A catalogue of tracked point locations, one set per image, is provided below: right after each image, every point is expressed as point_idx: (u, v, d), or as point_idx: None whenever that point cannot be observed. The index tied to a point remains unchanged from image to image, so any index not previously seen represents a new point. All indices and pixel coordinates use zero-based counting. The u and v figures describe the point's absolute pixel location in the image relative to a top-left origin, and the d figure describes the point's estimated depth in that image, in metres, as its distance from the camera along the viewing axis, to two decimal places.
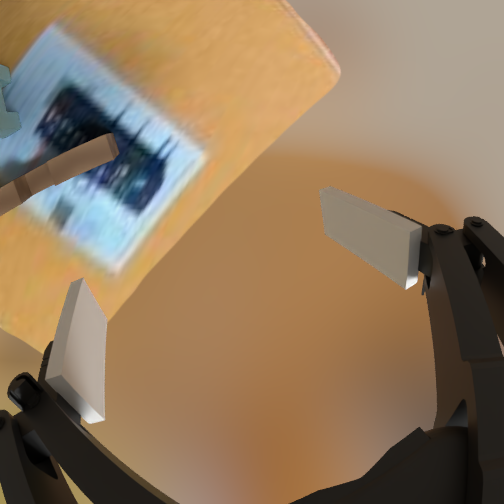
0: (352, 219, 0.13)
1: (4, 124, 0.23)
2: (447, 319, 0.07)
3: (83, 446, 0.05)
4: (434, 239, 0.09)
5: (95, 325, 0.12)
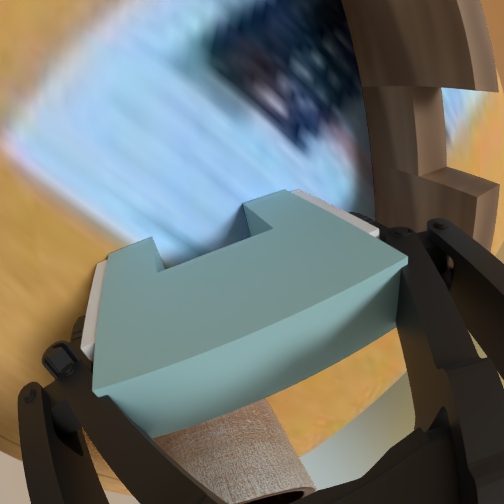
0: None
1: (332, 226, 0.11)
2: (415, 325, 0.07)
3: (115, 418, 0.06)
4: (393, 243, 0.10)
5: None
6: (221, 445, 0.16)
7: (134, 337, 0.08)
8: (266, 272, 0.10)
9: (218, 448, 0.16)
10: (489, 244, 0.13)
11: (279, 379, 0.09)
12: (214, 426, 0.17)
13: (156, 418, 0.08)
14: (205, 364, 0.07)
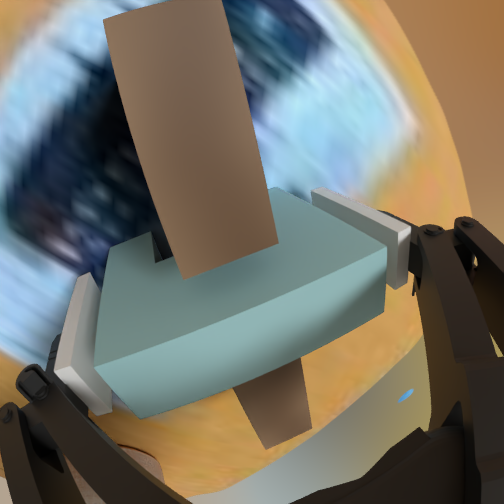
0: (342, 220, 0.14)
1: (318, 220, 0.12)
2: (439, 320, 0.07)
3: (91, 438, 0.05)
4: (424, 240, 0.09)
5: None
6: None
7: (133, 319, 0.09)
8: (254, 261, 0.10)
9: (91, 489, 0.16)
10: (300, 400, 0.13)
11: (266, 360, 0.09)
12: None
13: (152, 396, 0.08)
14: (197, 342, 0.08)
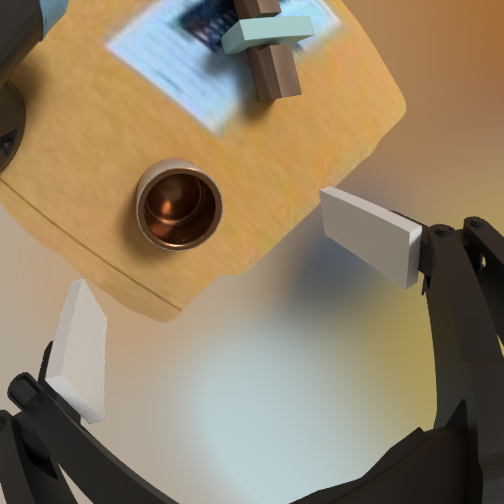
0: (352, 219, 0.13)
1: None
2: (447, 319, 0.07)
3: (83, 446, 0.05)
4: (434, 239, 0.09)
5: (95, 325, 0.12)
6: (172, 162, 0.36)
7: None
8: None
9: (170, 162, 0.36)
10: (293, 68, 0.33)
11: (280, 32, 0.30)
12: (171, 160, 0.37)
13: (250, 32, 0.29)
14: (264, 20, 0.28)
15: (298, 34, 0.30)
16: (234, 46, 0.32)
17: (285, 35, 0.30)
